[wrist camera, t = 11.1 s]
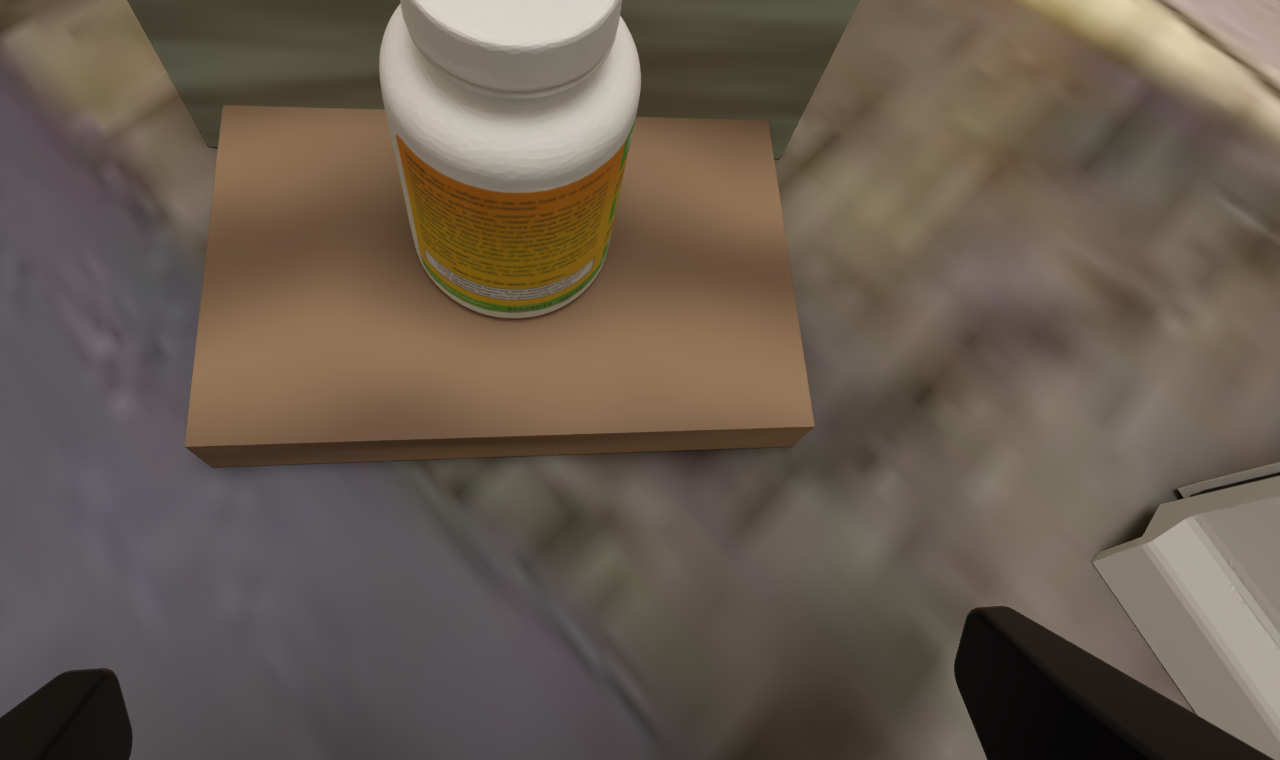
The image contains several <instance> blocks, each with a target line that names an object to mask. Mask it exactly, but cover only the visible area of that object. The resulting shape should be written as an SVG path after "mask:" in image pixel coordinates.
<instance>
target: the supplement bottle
mask: <svg viewBox="0 0 1280 760" xmlns="http://www.w3.org/2000/svg"><path fill="white" fill-rule="evenodd" d="M621 5H622V0H400V5H399V6H398V7H397V9H396V10H395V12H394V13H393V15H392V17H391V18H390V21H389V23H388V25H387V27H386V30H385V33H384V36H383V40H382V44H381V49H380V58H379V73H380V84H381V92H382V98H383V103H384V108H385V112H386V117H387V122H388V126H389V130H390V135H391V140H392V144H393V149H394V153H395V158H396V162H397V167H398V171H399V176H400V181H401V185H402V190H403V195H404V199H405V204H406V209H407V213H408V218H409V223H410V227H411V231H412V235H413V240H414V244H415V248H416V251H417V254H418V256H419V259H420V261H421V263H422V265H423V267H424V269H425V271H426V272H427V274H428V275H429V277H430V278H431V279H432V280H433V282H434V283H435V284H436V285H437V286H438V287H439V288H440V289H441V290H442V291H443V292H444V293H446V294H447V295H448V296H449V297H450V298H452V299H453V300H455V301H456V302H458V303H460V304H461V305H463V306H465V307H467V308H469V309H471V310H473V311H476V312H478V313H482V314H485V315H489V316H494V317H500V318H527V317H534V316H539V315H543V314H546V313H549V312H552V311H555V310H557V309H559V308H561V307H563V306H565V305H567V304H568V303H570V302H571V301H573V300H574V299H576V298H577V297H578V296H579V295H581V294H582V293H583V292H584V291H585V290H586V289H587V288H588V287H589V286H590V285H591V283H592V282H593V281H594V279H595V278H596V276H597V275H598V273H599V272H600V270H601V268H602V265H603V263H604V261H605V258H606V255H607V251H608V248H609V244H610V239H611V234H612V229H613V224H614V219H615V214H616V209H617V204H618V199H619V194H620V189H621V184H622V180H623V175H624V170H625V165H626V160H627V156H628V151H629V147H630V142H631V138H632V133H633V129H634V124H635V120H636V115H637V109H638V104H639V97H640V89H641V70H640V63H639V57H638V53H637V49H636V46H635V43H634V40H633V38H632V36H631V33H630V32H629V30H628V28H627V26H626V24H625V22H624V20H623V19H622V17H621V16H620V12H621Z"/></svg>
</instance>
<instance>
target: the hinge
mask: <svg viewBox="0 0 1280 760" xmlns="http://www.w3.org/2000/svg"><path fill="white" fill-rule="evenodd" d="M1178 490H1179V492H1180V493H1181V495H1182V496H1183V497H1184V499H1180V500H1176V501H1172V502H1168V503H1163V504H1160V505H1159V507H1158V509H1157V511H1156V513H1155V514H1154V516H1153V518H1152V520H1151V522H1150V523H1149V525H1148V527H1147V529H1146V531H1145V533H1144V534H1143V536H1142V537H1140V538H1137V539H1134V540H1132V541H1129V542H1126V543H1123V544H1120V545H1118V546H1115V547H1112V548H1109V549H1107V550H1104V551H1101V552H1100V553H1099V554H1098V555H1097V556H1096V557H1095V558H1094V559H1093V561H1092V563H1093V564H1094V566H1095V567H1096V569H1097V570H1098V572H1099V573H1100V575H1101V576H1102V577H1103V579H1104V580H1105V582H1106V583H1107V585H1108V586H1109V588H1110V589H1111V591H1112V592H1113V593H1114V595H1115V596H1116V598H1117V599H1118V601H1119V602H1120V604H1121V605H1122V607H1123V608H1124V609H1125V611H1126V612H1127V614H1128V615H1129V617H1130V618H1131V620H1132V621H1133V623H1134V624H1135V625H1136V627H1137V628H1138V630H1139V631H1140V633H1141V634H1142V636H1143V637H1144V639H1145V640H1146V641H1147V643H1148V644H1149V646H1150V647H1151V649H1152V650H1153V652H1154V653H1155V655H1156V656H1157V657H1158V659H1159V660H1160V662H1161V663H1162V665H1163V666H1164V668H1165V669H1166V671H1167V672H1168V673H1169V675H1170V676H1171V678H1172V679H1173V681H1174V682H1175V684H1176V685H1177V687H1178V688H1179V689H1180V691H1181V692H1182V694H1183V695H1184V697H1185V698H1186V700H1187V701H1188V703H1189V704H1190V705H1191V707H1192V708H1193V710H1194V711H1195V713H1196V714H1197V715H1198V716H1200V717H1201V718H1203V719H1205V720H1207V721H1208V722H1210V723H1212V724H1214V725H1215V726H1217V727H1219V728H1220V729H1222V730H1224V731H1226V732H1227V733H1229V734H1231V735H1233V736H1234V737H1236V738H1238V739H1240V740H1241V741H1243V742H1245V743H1247V744H1248V745H1250V746H1252V747H1254V748H1255V749H1257V750H1259V751H1261V752H1262V753H1264V754H1266V755H1267V756H1269V757H1271V758H1273V759H1274V760H1280V462H1277V463H1273V464H1269V465H1265V466H1261V467H1257V468H1253V469H1249V470H1245V471H1241V472H1237V473H1233V474H1229V475H1225V476H1221V477H1217V478H1213V479H1209V480H1205V481H1201V482H1198V483H1194V484H1191V485H1188V486H1185V487H1181V488H1178Z"/></svg>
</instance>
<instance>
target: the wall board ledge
mask: <svg viewBox="0 0 1280 760" xmlns="http://www.w3.org/2000/svg"><path fill="white" fill-rule="evenodd" d="M127 1H128V3H129V4H130V6H131V8H132V10H133V12H134V13H135V15H136V17H137V19H138V21H139V22H140V24H141V26H142V28H143V30H144V31H145V33H146V35H147V37H148V39H149V40H150V42H151V44H152V46H153V48H154V49H155V51H156V53H157V55H158V57H159V58H160V60H161V62H162V64H163V66H164V67H165V69H166V71H167V73H168V75H169V76H170V78H171V80H172V82H173V84H174V85H175V87H176V89H177V91H178V93H179V94H180V96H181V98H182V100H183V102H184V103H185V105H186V107H187V109H188V111H189V112H190V114H191V116H192V118H193V120H194V121H195V123H196V125H197V127H198V129H199V130H200V132H201V134H202V136H203V138H204V139H205V141H206V143H207V145H208V147H218V153H217V162H216V171H215V180H214V189H213V198H212V207H211V216H210V225H209V233H208V242H207V251H206V260H205V269H204V278H203V287H202V296H201V305H200V314H199V323H198V332H197V341H196V350H195V359H194V368H193V377H192V386H191V395H190V404H189V412H188V421H187V430H186V439H185V447H186V448H187V449H188V450H190V451H191V452H192V453H194V454H195V455H196V456H198V457H199V458H200V459H202V460H203V461H204V462H206V463H207V464H208V465H210V466H211V467H234V466H262V465H290V464H318V463H346V462H374V461H402V460H429V459H457V458H485V457H513V456H541V455H569V454H597V453H625V452H652V451H680V450H708V449H736V448H764V447H792V446H793V445H794V444H795V443H796V442H798V441H799V440H800V439H801V438H802V437H803V436H804V435H806V434H807V433H808V432H809V431H810V430H811V429H812V428H814V427H815V426H814V419H813V413H812V406H811V399H810V393H809V386H808V380H807V373H806V367H805V360H804V353H803V347H802V340H801V334H800V327H799V320H798V314H797V307H796V301H795V294H794V287H793V281H792V274H791V268H790V261H789V254H788V248H787V241H786V235H785V228H784V221H783V215H782V208H781V202H780V195H779V188H778V182H777V175H776V169H775V162H774V159H780V158H781V156H782V154H783V152H784V150H785V148H786V146H787V144H788V142H789V140H790V138H791V136H792V134H793V132H794V130H795V128H796V126H797V124H798V122H799V120H800V118H801V116H802V114H803V112H804V110H805V108H806V106H807V104H808V102H809V100H810V98H811V96H812V94H813V92H814V90H815V88H816V86H817V84H818V82H819V80H820V78H821V76H822V74H823V72H824V70H825V68H826V66H827V64H828V62H829V60H830V58H831V56H832V54H833V52H834V50H835V48H836V46H837V44H838V42H839V40H840V38H841V36H842V34H843V32H844V30H845V28H846V26H847V24H848V22H849V20H850V18H851V16H852V14H853V12H854V10H855V9H856V7H857V5H858V3H859V1H860V0H622V5H621V12H620V16H621V17H622V19H623V20H624V22H625V24H626V26H627V28H628V30H629V32H630V33H631V36H632V38H633V40H634V43H635V46H636V49H637V53H638V57H639V63H640V70H641V89H640V97H639V104H638V109H637V115H636V120H635V124H634V129H633V133H632V138H631V142H630V147H629V151H628V156H627V160H626V165H625V170H624V175H623V180H622V184H621V189H620V194H619V199H618V204H617V209H616V214H615V219H614V224H613V229H612V234H611V239H610V244H609V248H608V251H607V255H606V258H605V261H604V263H603V265H602V268H601V270H600V272H599V273H598V275H597V276H596V278H595V279H594V281H593V282H592V283H591V285H590V286H589V287H588V288H587V289H586V290H585V291H584V292H583V293H582V294H581V295H579V296H578V297H577V298H576V299H574V300H573V301H571V302H570V303H568V304H567V305H565V306H563V307H561V308H559V309H557V310H555V311H552V312H549V313H546V314H543V315H539V316H534V317H527V318H500V317H494V316H489V315H485V314H482V313H478V312H476V311H473V310H471V309H469V308H467V307H465V306H463V305H461V304H460V303H458V302H456V301H455V300H453V299H452V298H450V297H449V296H448V295H447V294H446V293H444V292H443V291H442V290H441V289H440V288H439V287H438V286H437V285H436V284H435V283H434V282H433V280H432V279H431V278H430V277H429V275H428V274H427V272H426V271H425V269H424V267H423V265H422V263H421V261H420V259H419V256H418V254H417V251H416V248H415V244H414V240H413V235H412V231H411V227H410V223H409V218H408V213H407V209H406V204H405V199H404V195H403V190H402V185H401V181H400V176H399V171H398V167H397V162H396V158H395V153H394V149H393V144H392V140H391V135H390V130H389V126H388V122H387V117H386V112H385V108H384V103H383V98H382V92H381V84H380V73H379V58H380V49H381V44H382V40H383V36H384V33H385V30H386V27H387V25H388V23H389V21H390V18H391V17H392V15H393V13H394V12H395V10H396V9H397V7H398V6H399V5H400V0H127Z"/></svg>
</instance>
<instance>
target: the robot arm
mask: <svg viewBox="0 0 1280 760" xmlns="http://www.w3.org/2000/svg"><path fill="white" fill-rule="evenodd" d="M954 673H955V679H956V683H957V686H958V689H959V691H960V693H961V696H962V698H963V701H964V703H965V706H966V708H967V711H968V713H969V715H970V718H971V720H972V723H973V725H974V728H975V730H976V733H977V735H978V738H979V740H980V742H981V745H982V747H983V750H984V752H985V755H986V757H987V760H1274V759H1273V758H1271V757H1269V756H1267V755H1266V754H1264V753H1262V752H1261V751H1259V750H1257V749H1255V748H1254V747H1252V746H1250V745H1248V744H1247V743H1245V742H1243V741H1241V740H1240V739H1238V738H1236V737H1234V736H1233V735H1231V734H1229V733H1227V732H1226V731H1224V730H1222V729H1220V728H1219V727H1217V726H1215V725H1214V724H1212V723H1210V722H1208V721H1207V720H1205V719H1203V718H1201V717H1200V716H1198V715H1196V714H1194V713H1193V712H1191V711H1189V710H1187V709H1186V708H1184V707H1182V706H1180V705H1179V704H1177V703H1175V702H1173V701H1172V700H1170V699H1168V698H1167V697H1165V696H1163V695H1161V694H1160V693H1158V692H1156V691H1154V690H1153V689H1151V688H1149V687H1147V686H1146V685H1144V684H1142V683H1140V682H1139V681H1137V680H1135V679H1133V678H1132V677H1130V676H1128V675H1126V674H1125V673H1123V672H1121V671H1119V670H1118V669H1116V668H1114V667H1113V666H1111V665H1109V664H1107V663H1106V662H1104V661H1102V660H1100V659H1099V658H1097V657H1095V656H1093V655H1092V654H1090V653H1088V652H1086V651H1085V650H1083V649H1081V648H1079V647H1078V646H1076V645H1074V644H1072V643H1071V642H1069V641H1067V640H1066V639H1064V638H1062V637H1060V636H1059V635H1057V634H1055V633H1053V632H1052V631H1050V630H1048V629H1046V628H1045V627H1043V626H1041V625H1039V624H1038V623H1036V622H1034V621H1032V620H1031V619H1029V618H1027V617H1025V616H1024V615H1022V614H1020V613H1019V612H1017V611H1015V610H1013V609H1011V608H1009V607H1006V606H993V607H979V608H975V609H972V610H971V611H970V612H969V614H968V615H967V618H966V621H965V624H964V628H963V632H962V636H961V639H960V643H959V647H958V651H957V655H956V658H955V664H954ZM131 749H132V728H131V724H130V720H129V716H128V713H127V709H126V706H125V702H124V698H123V695H122V691H121V688H120V684H119V681H118V678H117V676H116V674H115V673H114V672H113V671H112V670H110V669H106V668H99V669H84V670H71V671H67V672H64V673H62V674H60V675H58V676H57V677H55V678H54V679H53V680H51V681H50V682H48V683H47V684H46V685H44V686H43V687H42V688H40V689H39V690H38V691H36V692H35V693H33V694H32V695H31V696H29V697H28V698H27V699H25V700H24V701H23V702H21V703H20V704H19V705H17V706H16V707H14V708H13V709H12V710H10V711H9V712H8V713H6V714H5V715H4V716H2V717H1V718H0V760H129V758H130V754H131Z"/></svg>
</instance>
